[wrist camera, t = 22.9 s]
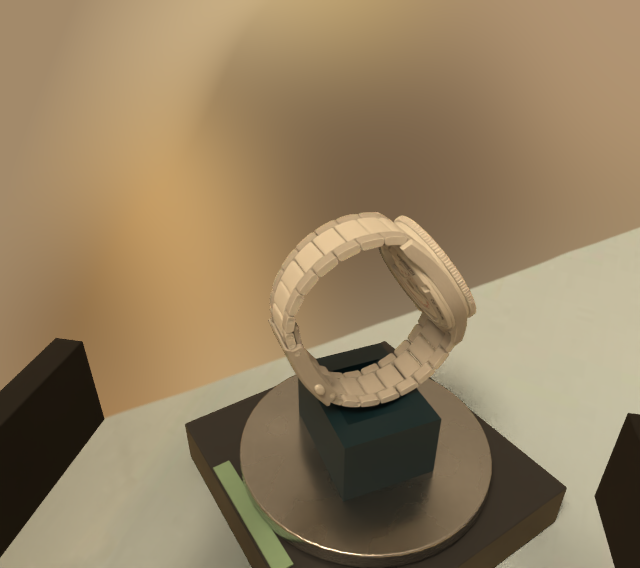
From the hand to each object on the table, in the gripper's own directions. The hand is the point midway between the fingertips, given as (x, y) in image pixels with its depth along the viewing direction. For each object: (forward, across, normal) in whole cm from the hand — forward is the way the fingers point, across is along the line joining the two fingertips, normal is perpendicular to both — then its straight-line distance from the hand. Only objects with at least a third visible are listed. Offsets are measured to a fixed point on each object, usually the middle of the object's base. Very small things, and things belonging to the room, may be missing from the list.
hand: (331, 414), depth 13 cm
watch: (+8, 0, -10) cm, 13 cm away
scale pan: (+8, 0, -10) cm, 13 cm away
